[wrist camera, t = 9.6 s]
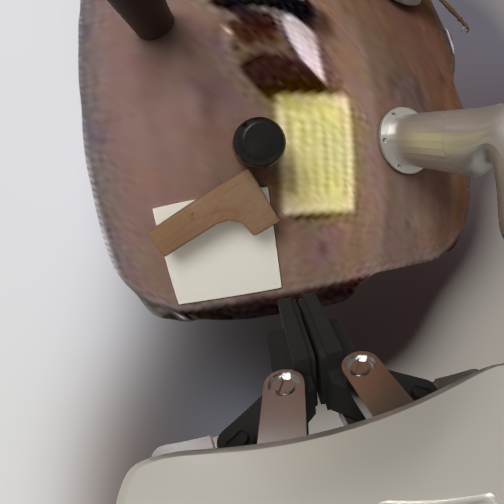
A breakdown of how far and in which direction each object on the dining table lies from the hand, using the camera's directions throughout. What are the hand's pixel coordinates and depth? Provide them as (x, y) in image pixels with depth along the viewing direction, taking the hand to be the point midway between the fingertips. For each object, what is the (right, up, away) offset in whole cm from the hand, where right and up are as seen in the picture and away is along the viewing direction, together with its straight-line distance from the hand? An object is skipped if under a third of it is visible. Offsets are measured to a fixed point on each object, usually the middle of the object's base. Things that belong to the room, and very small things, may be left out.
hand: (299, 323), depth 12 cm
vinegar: (-19, +42, +19) cm, 50 cm away
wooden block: (0, +12, +28) cm, 31 cm away
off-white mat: (-8, +4, +34) cm, 35 cm away
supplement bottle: (-2, +20, +29) cm, 35 cm away
